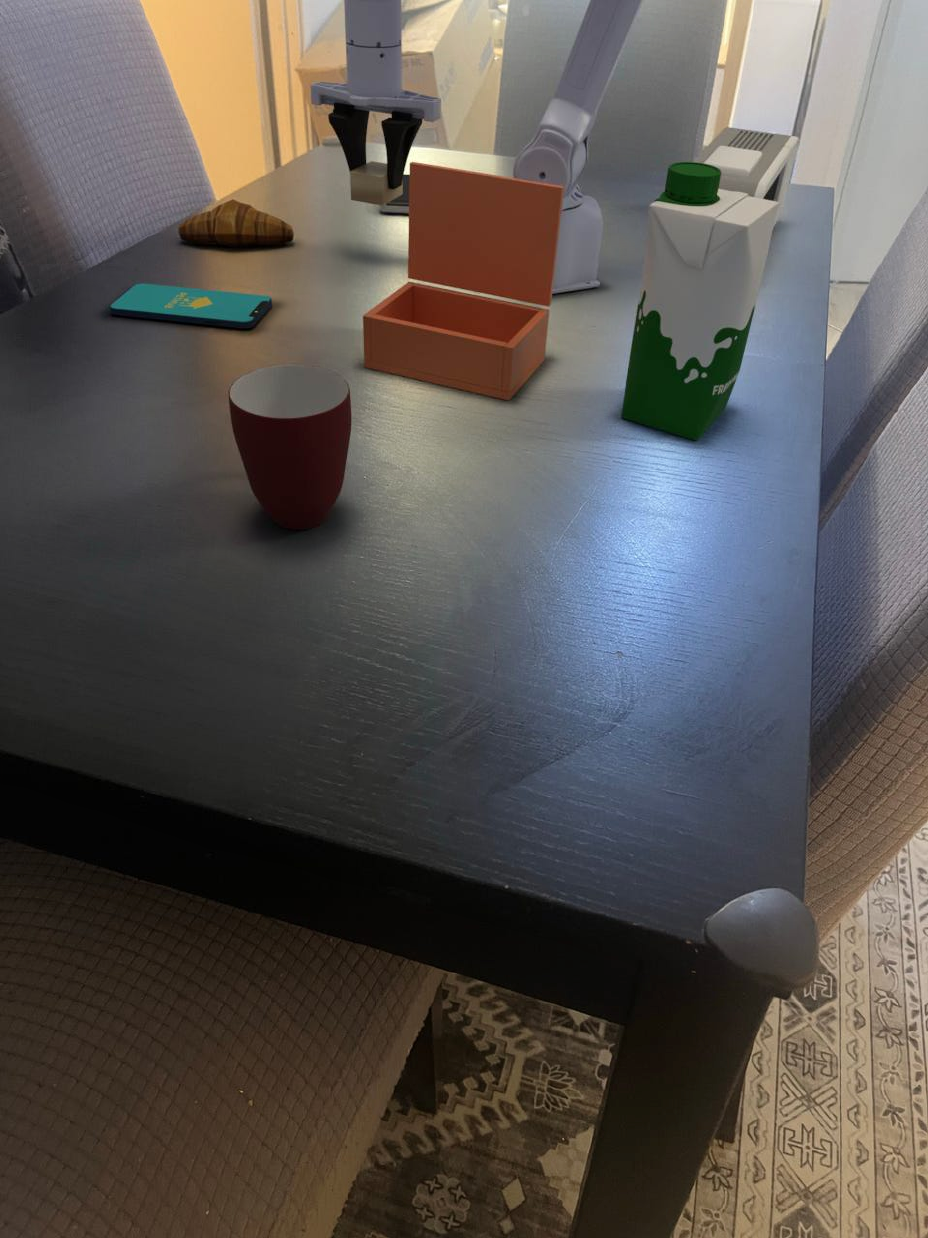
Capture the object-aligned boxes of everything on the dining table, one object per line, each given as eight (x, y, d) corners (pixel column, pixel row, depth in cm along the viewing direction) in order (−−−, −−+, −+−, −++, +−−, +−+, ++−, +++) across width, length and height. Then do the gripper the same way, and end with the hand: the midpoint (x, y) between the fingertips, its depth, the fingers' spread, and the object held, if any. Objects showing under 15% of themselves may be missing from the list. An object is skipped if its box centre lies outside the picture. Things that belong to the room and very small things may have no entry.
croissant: (296, 234, 117) (293, 191, 114) (292, 253, 112) (289, 209, 108) (184, 232, 116) (178, 189, 112) (175, 251, 111) (168, 206, 107)
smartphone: (137, 280, 101) (273, 294, 99) (138, 288, 101) (274, 302, 100) (106, 307, 95) (250, 322, 94) (108, 315, 96) (251, 330, 94)
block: (382, 205, 105) (382, 176, 103) (350, 200, 106) (349, 171, 104) (403, 194, 108) (402, 165, 106) (371, 188, 109) (371, 160, 107)
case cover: (562, 187, 82) (564, 185, 82) (409, 162, 86) (412, 161, 86) (549, 306, 88) (551, 304, 89) (407, 278, 92) (410, 276, 93)
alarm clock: (741, 290, 108) (766, 179, 101) (661, 275, 111) (680, 165, 103) (779, 223, 128) (802, 125, 120) (710, 211, 130) (729, 116, 123)
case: (508, 400, 85) (512, 347, 82) (364, 367, 89) (362, 315, 86) (544, 359, 92) (549, 309, 89) (408, 330, 96) (408, 280, 93)
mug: (251, 469, 74) (237, 348, 68) (355, 468, 75) (350, 348, 69) (238, 548, 66) (221, 419, 60) (355, 546, 67) (349, 418, 61)
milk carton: (646, 382, 89) (687, 151, 76) (739, 410, 86) (798, 172, 73) (606, 419, 83) (643, 175, 70) (704, 449, 80) (761, 199, 67)
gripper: (291, 40, 97) (301, 182, 105) (420, 56, 92) (419, 203, 101) (326, 30, 102) (333, 167, 110) (450, 46, 97) (447, 186, 106)
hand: (376, 183), depth 106 cm, fingers closed on block, 4 cm apart
